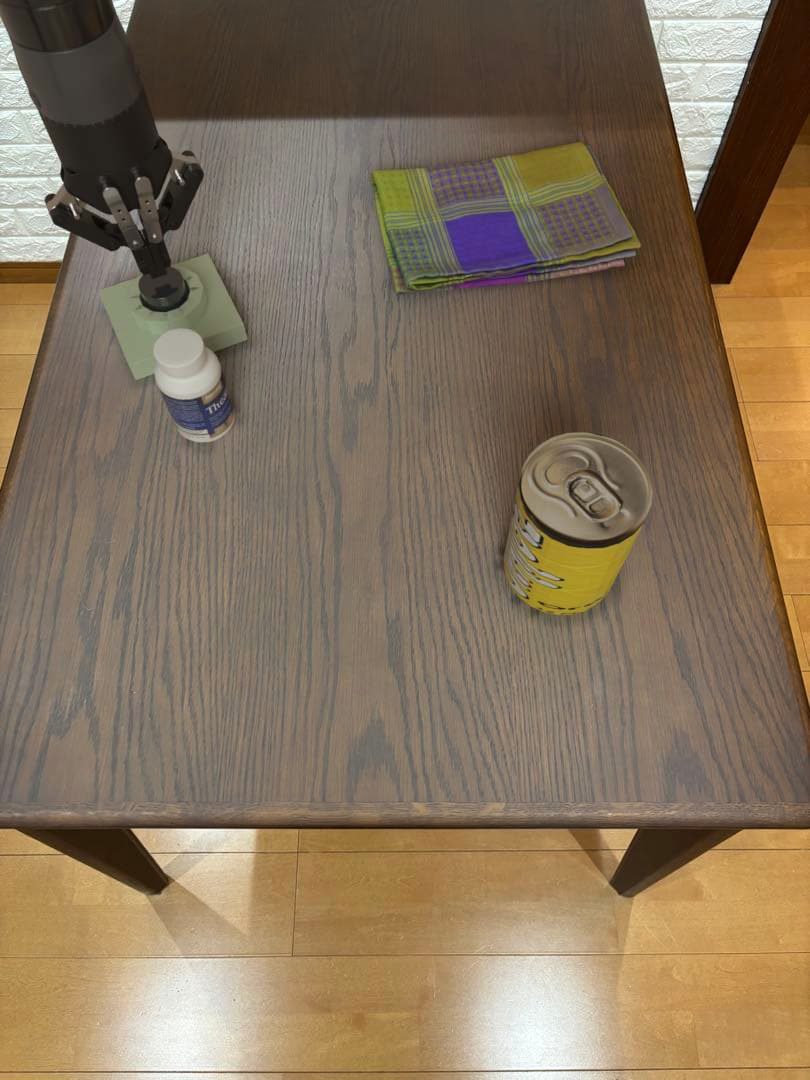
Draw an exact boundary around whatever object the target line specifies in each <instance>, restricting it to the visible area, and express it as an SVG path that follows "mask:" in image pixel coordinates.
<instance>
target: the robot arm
mask: <svg viewBox="0 0 810 1080" xmlns="http://www.w3.org/2000/svg"><path fill="white" fill-rule="evenodd" d="M0 19H1V22H2V24H3V26H4V28H5V31H6V33H7V36H8V38H9V40H10V44H11V47H12V50H13V53H14V56H15V60H16V63H17V66H18V69H19V71H20V74H21V76H22V79H23V81H24V83H25V85H26V87H27V91H28V95H29V97H30V99H31V101H32V103H33V104H34V106H35V108H36V110H37V112H38V114H39V116H40V120H41V121H42V124H43V126H44V128H45V130H46V132H47V134H48V137H49V139H50V142H51V144H52V146H53V148H54V150H55V153H56V155H57V157H58V159H59V161H60V170H59V177H60V180H61V181H62V184H61V186H60V187H59V189H58V191H57V192H56V193H54V192H53V193H52V192H51V193H48V194H47V195H46V196H45V197H44V204H45V206H46V209H47V212H48V214H49V217H50V218H51V221H52V223H53V224H54V225H55V226H57V227H58V228H61V229H62V230H65V231H66V232H68V233H71V234H74V235H75V236H78V237H80V238H82V239H83V240H86V241H88V242H90V243H91V244H92V243H93V244H94V245H97V246H98V247H101V248H103V249H105V250H107V251H110V252H116V251H118V250H120V248H121V247H126V248H128V249H129V250H130V251H131V253H132V256H133V259H134V262H135V263H136V266H137V268H138V270H139V273H140V274H143V275H147V274H150V276H151V278H152V279H154V278H157V277H159V275H160V276H163V275H166V274H167V271H166V268H167V267H170V266H172V260H171V256H170V254H169V251H168V248H167V244H166V243H165V239H164V238H165V235H166V234H167V233H168V232H169V231H171V232H175V231H177V230H179V229H180V228H181V226H182V224H183V222H184V220H185V218H186V217H187V214H188V211H189V209H190V208H191V206H192V203H193V201H194V199H195V197H196V194H197V193H198V190H199V188H200V186H201V184H202V182H203V180H204V177H205V172H204V170H203V168H202V167H201V164H200V163H199V161H198V159H197V157H196V155H195V153H194V152H193V151H192V150H188V149H187V150H183V151H182V152H181V153H178V152H175V151H172V150H170V148H169V146H168V143H167V141H166V140H165V139H163V138H162V136H161V135H159V132H158V128H157V125H156V121H155V119H154V115H153V112H152V109H151V105H150V103H149V100H148V95H147V93H146V90H145V87H144V84H143V80H142V77H141V75H142V74H141V69H140V65H139V63H138V62H137V59H136V58H135V55H134V51H133V49H132V45H131V43H130V40H129V37H128V35H127V33H126V31H125V28H124V27H123V24H122V22H121V20H120V18H119V16H118V12H117V10H116V8H115V5H114V1H113V0H0ZM168 174H169V176H170V178H169V180H168V182H167V184H166V187H165V189H164V191H163V194H162V196H161V198H160V200H159V203H158V205H157V204H156V200H158V198H159V197H160V195H161V193H162V190H163V187H164V185H165V182H166V180H167V177H168ZM80 201H81V202H82V203H85V204H87V205H88V206H90V207H92V208H93V209H96V211H99V212H101V213H103V214H105V215H108V216H113V218H114V220H115V223H114V222H113V223H112V222H111V220H108V219H106V218H105V217H102V216H100V215H98V214H96V213H94V212H93V211H90V210H88V209H86V208H84V207H82V205H81V203H80ZM134 210H136V212H137V215H138V218H139V222H140V224H141V226H142V228H140V229H139V227H138V225H137V224H136V223H135V220H134V218H133V216H132V215H131V212H133V211H134ZM158 273H159V274H158Z"/></svg>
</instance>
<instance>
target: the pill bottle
mask: <svg viewBox="0 0 810 1080" xmlns="http://www.w3.org/2000/svg"><path fill="white" fill-rule="evenodd" d="M153 352H154V356H155V359H156V362H157V363H156V366H155V374H154V379H155V383H156V385H157V388H158V390H159V392H160V394H161V397H162V400H163V401H164V403H165V406H166V408H167V410H168V412H169V414H170V417H171V419H172V422H173V424H174V426H175V428H176V430H177V431H178V433H179V434H180V435H181V436H182V437H183V438H185V439H186V440H189V441H191V442H194V443H211V442H214V441H217V440H219V439H221V438H222V437H224V436H225V435H227V433H229V432H230V430H231V429H232V427H233V425H234V424H235V421H236V410H235V406H234V403H233V399H232V397H231V394H230V390H229V387H228V384H227V381H226V379H225V375H224V372H223V369H222V366H221V362H220V360H219V358H218V357H217V355H216V353H215V352H212V351H211V350H210V349H209V348H207V347H205V345H204V342H203V340H202V338H201V336H200V335H199V334H198V333H196V332H195V331H193V330H190V329H186V328H178V329H172V330H169V331H167V332H165V333H164V334H162V335H161V336H160V337H159V338H158V339H157V341H156V342H155V344H154V349H153Z"/></svg>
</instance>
